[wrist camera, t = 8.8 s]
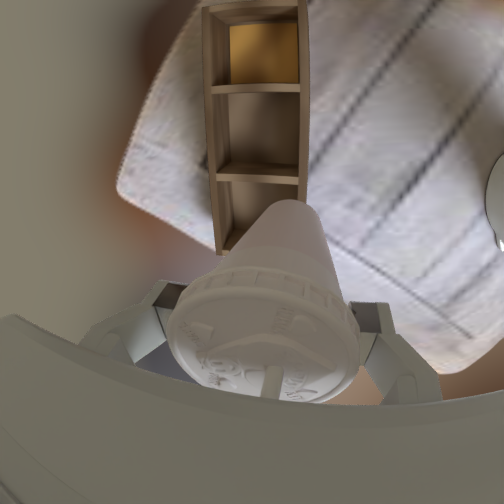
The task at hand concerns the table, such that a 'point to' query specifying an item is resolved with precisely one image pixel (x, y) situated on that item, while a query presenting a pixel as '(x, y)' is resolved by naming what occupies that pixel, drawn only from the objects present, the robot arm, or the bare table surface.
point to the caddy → (255, 110)
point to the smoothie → (270, 315)
